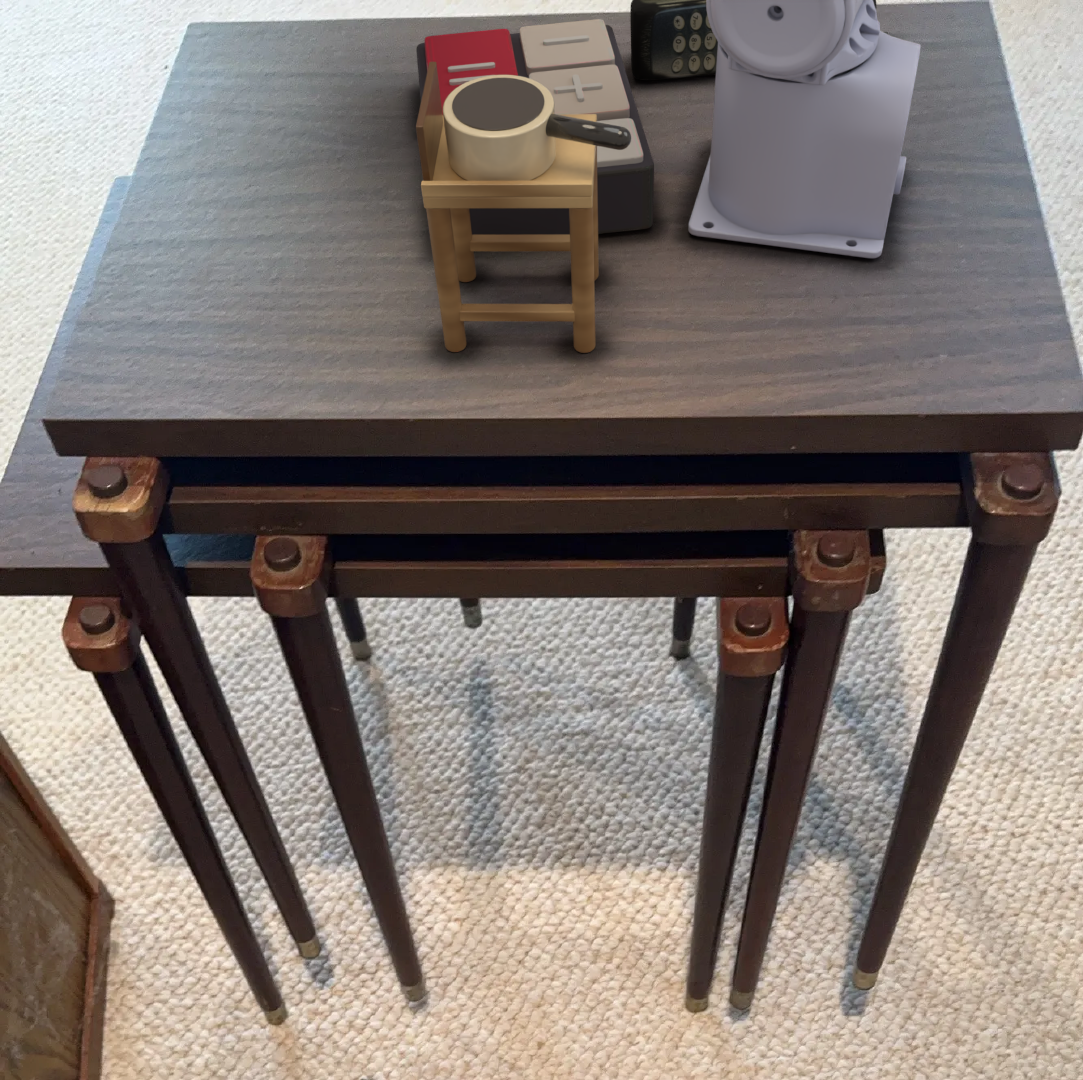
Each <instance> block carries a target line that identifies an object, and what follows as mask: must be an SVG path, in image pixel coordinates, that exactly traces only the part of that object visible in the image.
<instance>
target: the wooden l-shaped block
mask: <svg viewBox="0 0 1083 1080" xmlns="http://www.w3.org/2000/svg"><path fill="white" fill-rule="evenodd" d="M557 115H562V116H568V117H573V118H578V119H584V120H589V121H594V122H597V115H596V114H557ZM415 131H416V139H417V147H418V153H419V161H420V167H421V175H422V180H421V184H420V188H421V195H422V202H423V208H424V209H425V210H426V209H434V208H592V206H593V189H594V171H595V153H596V145H590V144H585V143H580V142H575V141H570V140H565V139H559V138H556V157H555V160H554V162H553V164H552V165H551V166H550V168H549V169H548V170H547V171H546V172H544V173H543V174H542V175H540V176H538V177H537V178H535V179H533V180H518V181H467V180H465V179H463V178H462V177H460V176H459V175H458V174H456V173H455V172H454V170H453V169H452V168H451V166H450V164H449V160H448V152H447V144H446V135H445V127H444V118H443V115H442V106H441V98H440V89H439V81H438V73H437V64H436V62H429V67H428V71H427V76H426V81H425V86H424V90H423V95H422V100H421V99H420V105H419V109H418V114H417V118H416V124H415Z"/></svg>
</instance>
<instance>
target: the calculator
mask: <svg viewBox="0 0 1083 1080" xmlns="http://www.w3.org/2000/svg"><path fill="white" fill-rule="evenodd" d="M415 51H416V60H417V72H418V84H419V99H420V101H421V100H422V95H423V90H424V86H425V81H426V76H427V71H428V67H429V62H436V64H437V73H438V81H439V89H440V98H441V106H442V115H443V105H444V102H445V100H446V98H447V97H448V95H449V94H450V93H451V92H452V91H453V90H454V89H456V88H457V87H459V86H460V85H462V84H464V83H466V82H468V81H471V80H474V79H477V78H480V77H485V76H491V75H516V76H522V77H526V78H529V79H532V80H535V81H537V82H539V83H540V84H542V85H543V86H545V87H546V88H547V89H548V90H549V91H550V93H551V94H552V96H553V99H554V105H555V114H596V115H597V122H600V123H605V124H610V125H616V126H621V127H625V128H626V129H628V130H629V132H630V134H631V142H630V144H629V146H628V147H627V148H625V149H623V150H616V149H611V148H606V147H601V146H597V188H598V235H601V234H610V233H611V234H612V233H620V232H621V233H622V232H630V231H639V230H646V229H649V228H651V227H652V226H653V224H654V197H655V196H654V190H655V189H654V187H655V184H654V183H655V164H654V160H653V156H652V154H651V150H650V146H649V144H648V143H649V142H648V141H647V137H646V134H645V130H644V127H643V123H642V121H641V117H640V114H639V111H638V107H637V104H636V100H635V97H634V94H633V91H632V88H631V85H630V81H629V78H628V75H627V72H626V68H625V65H624V61H623V59H622V55H621V52H620V49H619V45H618V42H617V39H616V36H615V32H614V29H613V28H612V26H611V25H609V24H606V23H605V21H604V19H602V18H595V19H585V20H575V21H565V22H564V21H563V22H556V23H555V22H554V23H546V24H536V25H527V26H525V25H524V26H521V27H520V28H519V32H514V33H511V32H510V30H509V29H508V28H495V29H485V30H475V31H465V32H458V33H457V32H456V33H455V32H454V33H445V34H436V35H428V36H425V38H424V41H423V42H420V43H419V44H417V46H416V50H415ZM469 212H470V221H471V230H472V235H570V221H569V208H469Z"/></svg>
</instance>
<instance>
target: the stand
mask: <svg viewBox="0 0 1083 1080" xmlns="http://www.w3.org/2000/svg"><path fill="white" fill-rule="evenodd" d="M425 210H426V217H427V225H428V232H429V239H430V245H431V246H430V247H431V254H432V261H433V268H434V275H435V283H436V290H437V296H438V305H439V311H440V318H441V326H442V333H443V334H442V335H443V339H444V347H445V349H446V350H447V351H449V352H451V353H459V352H461V351H463V350H464V349H466V346H467V336H466V327H465V322H546V323H547V322H551V323H552V322H557V323H558V322H563V323H564V322H565V323H566V322H569V323H570V322H571V323H572V332H573V334H572V335H573V336H572V337H573V348H574V349H575V350H576V351H577V352H579V353H582V354H587V353H591V352H592V351H593V350H595V348H596V300H595V299H596V298H595V297H596V296H595V281H596V280H597V279H598V278H599V275H600V271H599V269H600V267H599V266H600V264H599V263H600V262H599V261H600V260H599V234H598V188H597V146H596V153H595V171H594V189H593V206H592V208H569V221H570V235H472V230H471V221H470V212H469V208H434V209H426V208H425ZM475 252H570V272H571V273H570V274H571V278H570V279H571V303H462V302H463V301H462V294H461V288H460V287H461V286H460V282H461V283H469V282H472V281H474V280H475V279H476V278H477V271H476V269H477V267H476V259H475V258H476V257H475Z"/></svg>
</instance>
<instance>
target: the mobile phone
mask: <svg viewBox="0 0 1083 1080" xmlns="http://www.w3.org/2000/svg"><path fill="white" fill-rule="evenodd" d="M873 2H874V6H875V9H876V10H877V8H878V7H877V0H873ZM629 15H630V16H629V17H630V21H629V22H630V68H631V74H632V76H633V77H634V79H635V80H641V81H658V80H659V81H660V80H673V79H681V78H692V77H693V78H694V77H704V76H705V77H706V76H716V65H717V50H718V41H717V39H716V37H715V35H714V34H713V32H712V29H711V26H710V23H709V20H708V15H707V9H706V0H631V2H630V13H629ZM883 32H884V33H886V34H888V35H889V32H888V31H883Z"/></svg>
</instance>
